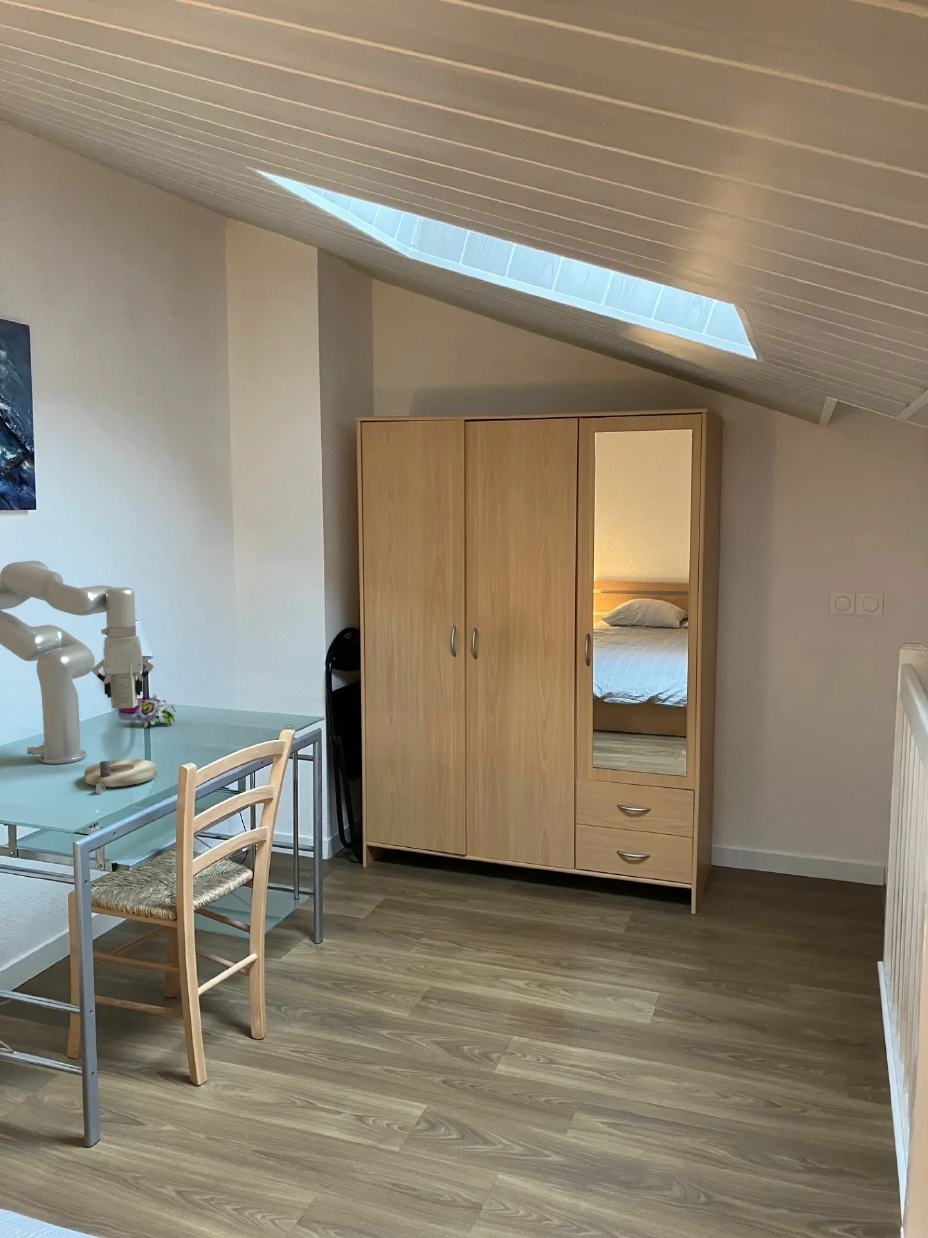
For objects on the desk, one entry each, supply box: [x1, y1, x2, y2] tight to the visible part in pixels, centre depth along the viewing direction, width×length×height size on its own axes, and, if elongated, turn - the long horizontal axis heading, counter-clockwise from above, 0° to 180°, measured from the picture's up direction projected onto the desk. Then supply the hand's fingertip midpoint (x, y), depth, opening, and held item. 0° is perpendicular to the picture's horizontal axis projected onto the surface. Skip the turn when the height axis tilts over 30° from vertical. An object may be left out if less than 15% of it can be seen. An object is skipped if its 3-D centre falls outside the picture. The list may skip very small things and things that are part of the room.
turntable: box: [84, 758, 158, 788], centre depth 260 cm, size 18×18×6 cm
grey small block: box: [95, 781, 107, 795], centre depth 249 cm, size 4×1×2 cm, turn 175°
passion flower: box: [130, 693, 177, 729], centre depth 321 cm, size 11×11×12 cm
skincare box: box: [109, 665, 139, 709], centre depth 272 cm, size 6×4×12 cm
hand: (123, 695), depth 273 cm, fingers closed on skincare box, 7 cm apart
